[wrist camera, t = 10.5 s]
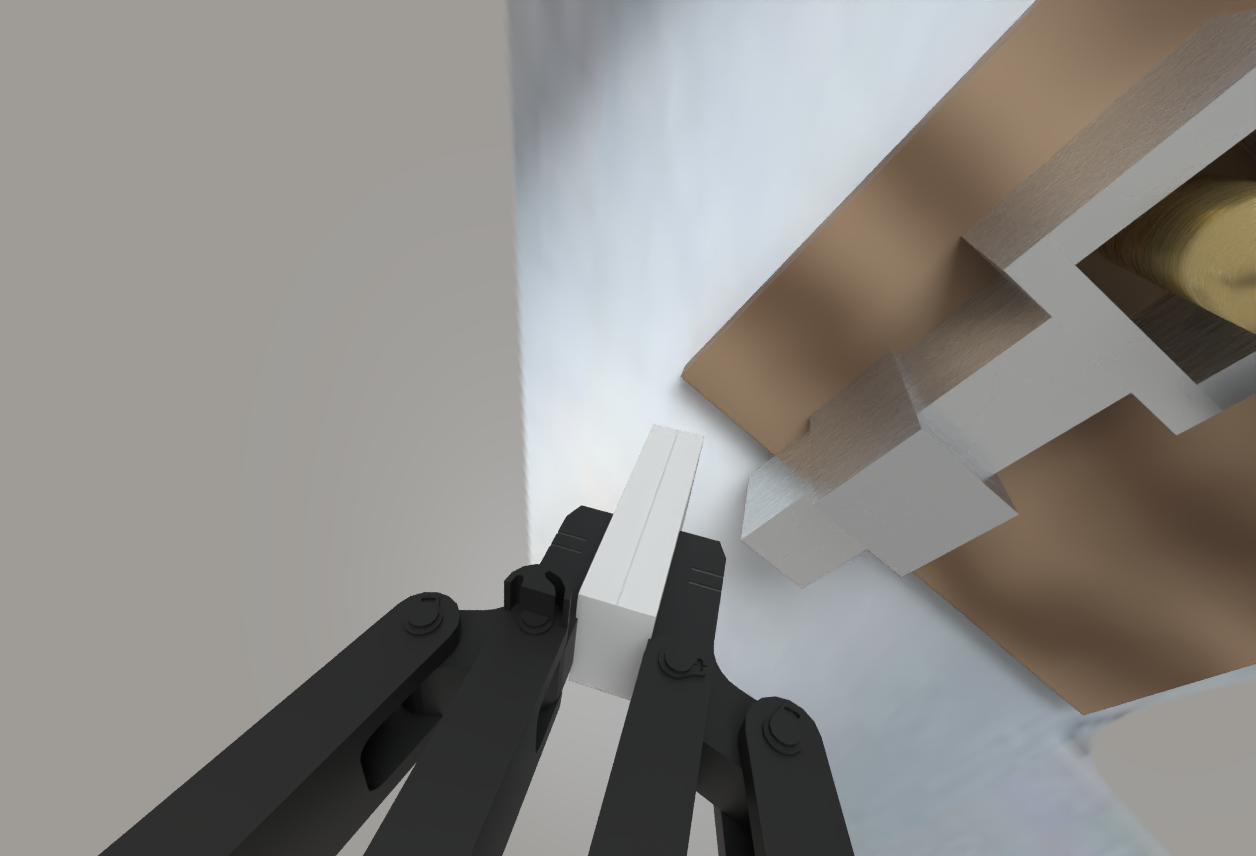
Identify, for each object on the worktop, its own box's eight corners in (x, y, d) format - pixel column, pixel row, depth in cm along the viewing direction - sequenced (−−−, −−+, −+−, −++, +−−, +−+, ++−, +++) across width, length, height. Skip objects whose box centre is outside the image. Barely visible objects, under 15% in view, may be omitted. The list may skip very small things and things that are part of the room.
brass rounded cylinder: (1152, 143, 16) (1376, 168, 10) (1210, 206, 17) (1462, 268, 10) (1058, 219, 18) (1200, 281, 11) (1113, 275, 18) (1280, 365, 12)
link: (1209, 18, 14) (1438, -31, 9) (1371, 200, 15) (1663, 248, 10) (717, 450, 24) (697, 538, 19) (830, 542, 25) (838, 649, 20)
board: (1215, -187, 13) (1249, -210, 12) (1749, 473, 16) (1811, 497, 15) (685, 365, 24) (680, 376, 23) (1072, 693, 27) (1083, 715, 26)
